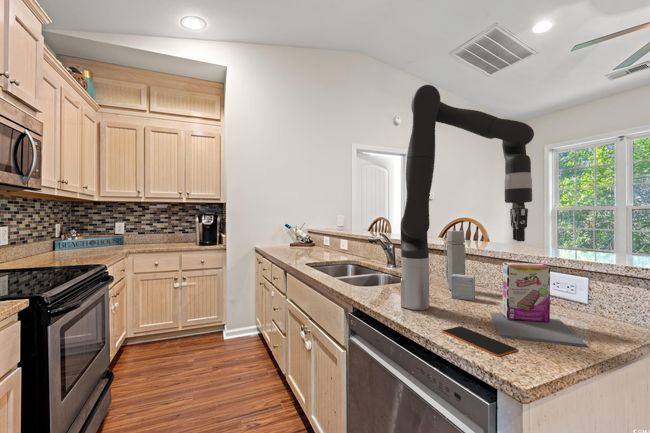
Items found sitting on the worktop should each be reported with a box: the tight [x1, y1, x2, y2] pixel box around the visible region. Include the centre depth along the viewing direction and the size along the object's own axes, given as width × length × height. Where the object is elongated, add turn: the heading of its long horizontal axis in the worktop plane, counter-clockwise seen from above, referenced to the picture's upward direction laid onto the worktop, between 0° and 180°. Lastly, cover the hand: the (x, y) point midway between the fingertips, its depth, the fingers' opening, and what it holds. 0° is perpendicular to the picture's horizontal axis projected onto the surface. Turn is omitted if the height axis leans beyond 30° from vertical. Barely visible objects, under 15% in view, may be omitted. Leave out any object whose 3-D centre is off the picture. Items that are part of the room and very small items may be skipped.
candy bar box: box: [502, 262, 551, 322], centre depth 90 cm, size 11×5×16 cm, turn 76°
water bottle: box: [441, 230, 466, 291], centre depth 129 cm, size 9×8×25 cm
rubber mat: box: [490, 312, 588, 348], centre depth 84 cm, size 18×19×1 cm
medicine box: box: [450, 274, 476, 301], centre depth 116 cm, size 8×4×9 cm, turn 58°
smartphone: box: [441, 325, 519, 358], centre depth 77 cm, size 8×17×1 cm, turn 25°
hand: (518, 240), depth 98 cm, fingers open, 4 cm apart
